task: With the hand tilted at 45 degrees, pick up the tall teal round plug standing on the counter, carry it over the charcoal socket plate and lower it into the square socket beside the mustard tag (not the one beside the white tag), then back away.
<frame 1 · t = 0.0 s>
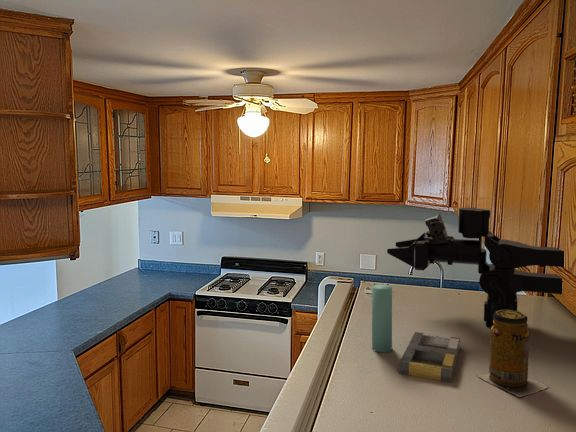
hand: (391, 247, 115), 17 cm above the worktop, tool horizontal, fingers open, 9 cm apart
plug: (382, 348, 94), on the worktop
condiment: (511, 383, 79), on the worktop
socket plate: (431, 359, 89), on the worktop
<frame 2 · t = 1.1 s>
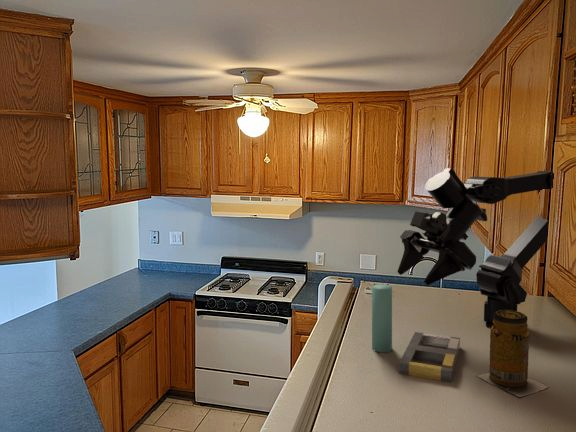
hand: (411, 278, 96), 14 cm above the worktop, tool tilted 45°, fingers open, 9 cm apart
nothing on the worktop moved.
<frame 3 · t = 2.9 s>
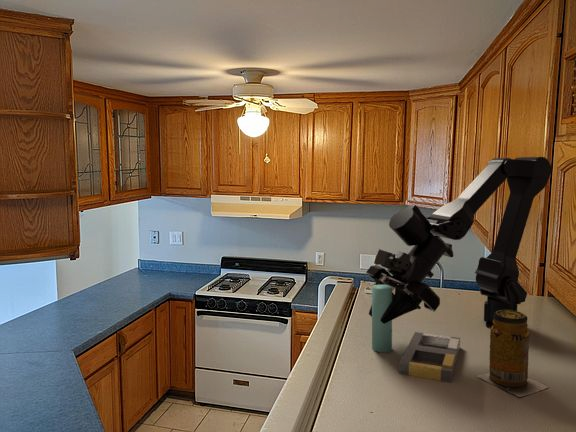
hand: (376, 318, 93), 7 cm above the worktop, tool tilted 45°, fingers closed on plug, 4 cm apart
plug: (382, 348, 94), on the worktop, touching gripper
everything else where it was.
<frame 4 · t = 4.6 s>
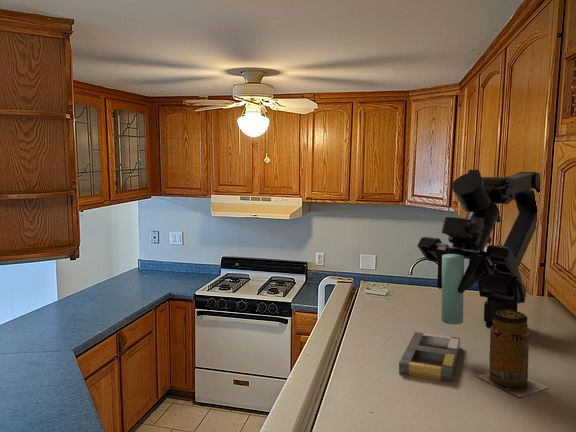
hand: (448, 289, 89), 13 cm above the worktop, tool tilted 45°, fingers closed on plug, 4 cm apart
plug: (452, 320, 90), point 7 cm above the worktop, touching gripper
everything else where it was.
when the fingers open (7 cm above the worktop, at t = 6.2 s): plug stays where it is, resting in socket plate.
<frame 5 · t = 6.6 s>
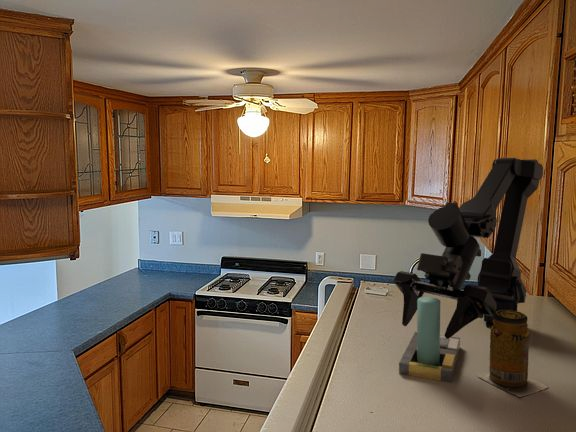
hand: (424, 331, 83), 8 cm above the worktop, tool tilted 45°, fingers open, 8 cm apart
plug: (428, 368, 85), resting in socket plate
everything else where it was.
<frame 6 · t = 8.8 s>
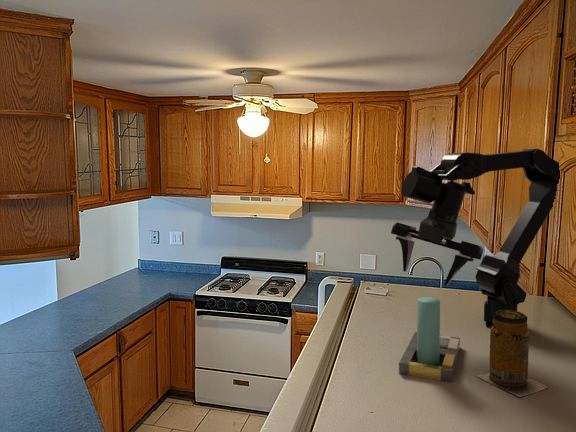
hand: (424, 278, 100), 13 cm above the worktop, tool tilted 20°, fingers open, 9 cm apart
nothing on the worktop moved.
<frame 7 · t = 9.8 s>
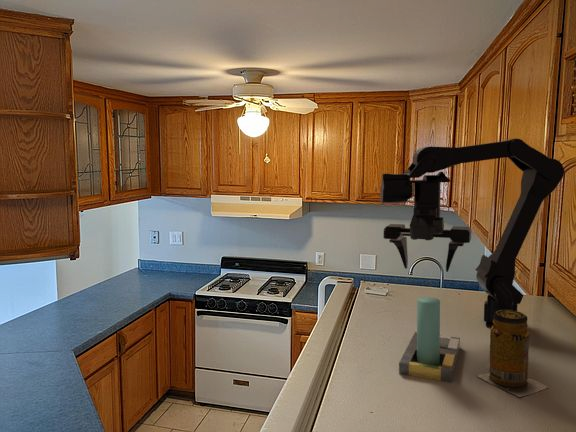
hand: (426, 269, 106), 13 cm above the worktop, tool pointing down, fingers open, 9 cm apart
nothing on the worktop moved.
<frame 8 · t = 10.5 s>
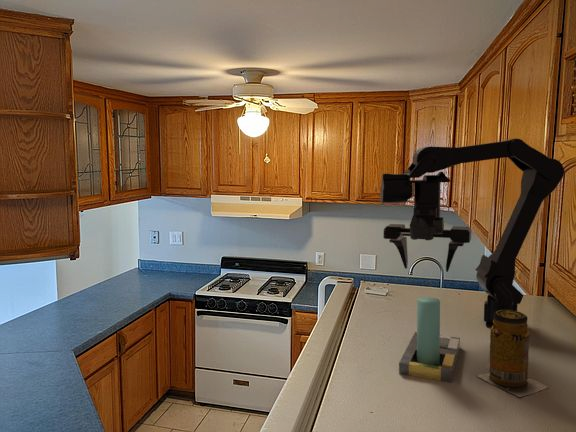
hand: (426, 269, 106), 13 cm above the worktop, tool pointing down, fingers open, 9 cm apart
nothing on the worktop moved.
at the end: plug 0.0 cm from the target spot, resting in socket plate; plug tilted 0°; the gripper is holding nothing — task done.
